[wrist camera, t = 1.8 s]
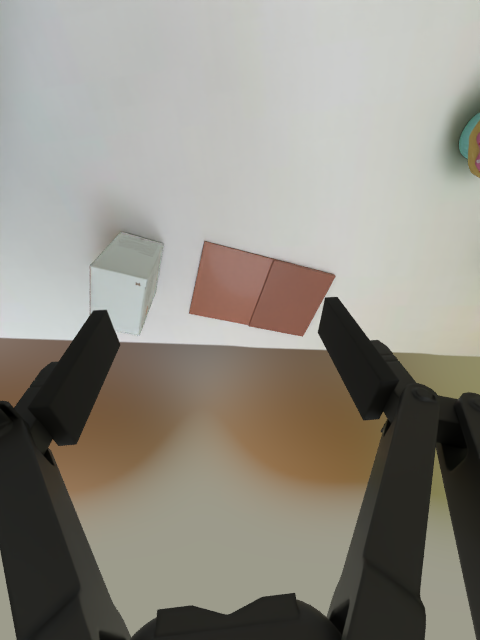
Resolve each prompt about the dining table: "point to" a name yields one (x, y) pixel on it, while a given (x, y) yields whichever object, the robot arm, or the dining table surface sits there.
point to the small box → (126, 281)
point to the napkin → (257, 290)
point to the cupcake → (471, 144)
